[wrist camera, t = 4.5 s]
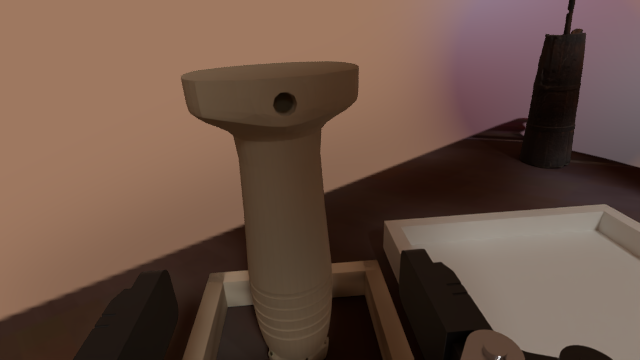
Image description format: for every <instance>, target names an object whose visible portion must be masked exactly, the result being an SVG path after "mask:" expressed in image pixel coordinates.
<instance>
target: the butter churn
mask: <svg viewBox="0 0 640 360" xmlns="http://www.w3.org/2000/svg"><path fill="white" fill-rule="evenodd" d="M574 5H575V0H569V5H568V10H569V13H568V14H567V16H566V24H565V30H564V34H563V35H549V34H546V35H545V37H546V38H545V41H544V46H543V49H542V54H541V56H540V59H539V64H538V71H537V75H536V78H535V82H534V86H533V95H532V100H531V104H530V111H529V116H528V121H527V123H526V130H525V134H524V139H523V144H522V149H521V154H520V160H522V161H523V162H525V163H528V164H531V165H534V166H537V167H548V168H549V167H563V166H564V165H568V164H569V163H570V158H571V151H572V143H573V135H574V129H575V117H576V110H577V104H578V99H579V98H578V97H579V90H580V85H581V83H580V82H581V77H582V76H581V74H582V69H583V60H584V51H585V39H586V33H582V31H583V30H582V29H575V30H573V31H572V32H571V34H570V29H571V22H572V14H573V9H574Z"/></svg>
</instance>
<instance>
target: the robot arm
mask: <svg viewBox="0 0 640 360" xmlns="http://www.w3.org/2000/svg"><path fill="white" fill-rule="evenodd" d="M399 294H400V299H401V303H402V305H403V308H404V310H405V313H406V315H407V317H408V320H409V322H410V325H411V327H412V330H413V332H414V335H415V337H416V339H417V342H418V344H419V347H420V349H421V352H422V354H423V356H424V359H425V360H613V359H612V358H610V357H609V356H607V355H605V354H604V353H602V352H600V351H598V350H596V349H593V348H590V347H587V346H582V345H569V346H567V347H565V348H563V349H562V350H561V352H560V355H559V358H557V357H552V356H546V355H541V354H535V353H530V352H526V351H523V350H521V349H520V347H519V346H518V345H517V344H516V343H515V342H514V341H513V340H511V339H510V338H509V337H507V336H505V335H503V334H501V333H499V332H496V331H494V330H493V329H492V327H491V326H490V324H489V323H488V321H487V320H486V319H485V317H484V316H483V314H482V313H481V311H480V310H479V308H478V307H477V305H476V304H475V302H474V301H473V299H472V298H471V296H470V295H469V294H468V292H467V290H466V289H465V287H464V286H463V285H462V284H461V281H460V280H459V278H458V277H457V276H456V274H455V273H454V271H453V270H451V269H450V268H449V267H447V266H446V265H445V264H443V263H442V262H434V263H433V262H432V260H431V258H430V257H429V255H428V253H427V252H426V250H425V249H412V250H403V251H402V252H401V258H400V273H399ZM177 320H178V304H177V300H176V297H175V293H174V290H173V286H172V282H171V279H170V275H169V273H168V271H167V270H159V271H147V272H142V273H140V275H139V276H138V278H137V280H136V281H135V283H134V285H133V286H132V288H131V289H124V290H123V291H122V292H121V293H120V294H118V295H117V296H116V297H115V298H114V299H113V300H111V301H110V303H109V305H108V306H107V308H106V309H105V311H104V312H103V314H102V317H100V318H99V320H98V322H97V323H96V325H95V328H94V329H92V331H91V332H90V334H89V336H88V337H87V339H86V340H85V342H84V343H83V345H82V346H81V348H80V349H79V351H78V353H77V354H76V356H75V357H74V359H73V360H163V358H164V356H165V353H166V350H167V348H168V345H169V342H170V340H171V337H172V334H173V332H174V329H175V326H176V324H177Z"/></svg>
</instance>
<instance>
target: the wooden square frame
mask: <svg viewBox="0 0 640 360" xmlns="http://www.w3.org/2000/svg"><path fill="white" fill-rule="evenodd" d="M331 267H332V298H335V297H346V296H357V295H365V298H366V301H367V305H368V308H369V312H370V315H371V319H372V323H373V326H374V330H375V333H376V337H377V340H378V344H379V348H380V351H381V355H382V358H383V360H414V357H413V355H412V352H411V349H410V347H409V344H408V341H407V339H406V336H405V333H404V331H403V328H402V325H401V323H400V320H399V317H398V315H397V312H396V309H395V307H394V304H393V301H392V299H391V296H390V293H389V291H388V288H387V285H386V283H385V280H384V277H383V275H382V272H381V269H380V267H379V264H378V261H377V260H368V261H356V262H344V263H332V266H331ZM244 305H254V304H253V299H252V294H251V287H250V281H249V274H248V270H247V271H234V272H222V273H210V276H209V279H208V282H207V285H206V288H205V291H204V294H203V297H202V301H201V304H200V307H199V310H198V313H197V316H196V319H195V322H194V325H193V328H192V331H191V335H190V338H189V341H188V344H187V347H186V350H185V353H184V356H183V359H182V360H216V358H217V353H218V349H219V344H220V340H221V335H222V331H223V326H224V322H225V317H226V313H227V308H228V307H232V306H244Z"/></svg>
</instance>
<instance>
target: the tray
mask: <svg viewBox="0 0 640 360" xmlns="http://www.w3.org/2000/svg"><path fill="white" fill-rule="evenodd" d="M383 249H384V251H385V253H386V256H387V258H388V261H389V263H390V265H391V268H392V270H393V272H394V275H395V277H396V279H397V282H398V284H399V273H400V258H401V252H402V251H403V250H412V249H425V250H426V252H427V253H428V255H429V257H430V258H431V260H432V262H433V263H434V262H442V263H443V264H445V265H446V266H447V267H449V268H450V269H451V270H453V271H454V273H455V274H456V276H457V277H458V278H459V280H460V281H461V284H462V285H463V286H464V287H465V289H466V290H467V292H468V294H469V295H470V296H471V298H472V299H473V301H474V302H475V304H476V305H477V307H478V308H479V310H480V311H481V313H482V314H483V316H484V317H485V319H486V320H487V321H488V323H489V324H490V326H491V327H492V329H493V330H494V331H496V332H499V333H501V334H503V335H505V336H507V337H509V338H510V339H511V340H513V341H514V342H515V343H516V344H517V345H518V346H519V347H520V349H521V350H523V351H526V352H530V353H535V354H541V355H546V356H552V357H557V358H559V355H560V352H561V350H562V349H563V348H565V347H567V346H569V345H582V346H587V347H590V348H593V349H596V350H598V351H600V352H602V353H604V354H605V355H607V356H609V357H610V358H612V359H613V360H640V223H638V222H636V221H634V220H633V219H631V218H629V217H627V216H626V215H624V214H622V213H620V212H618V211H617V210H615V209H613V208H611V207H610V206H608V205H606V204H602V205H589V206H575V207H562V208H549V209H536V210H523V211H509V212H496V213H483V214H470V215H457V216H443V217H430V218H417V219H404V220H391V221H384V240H383Z"/></svg>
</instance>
